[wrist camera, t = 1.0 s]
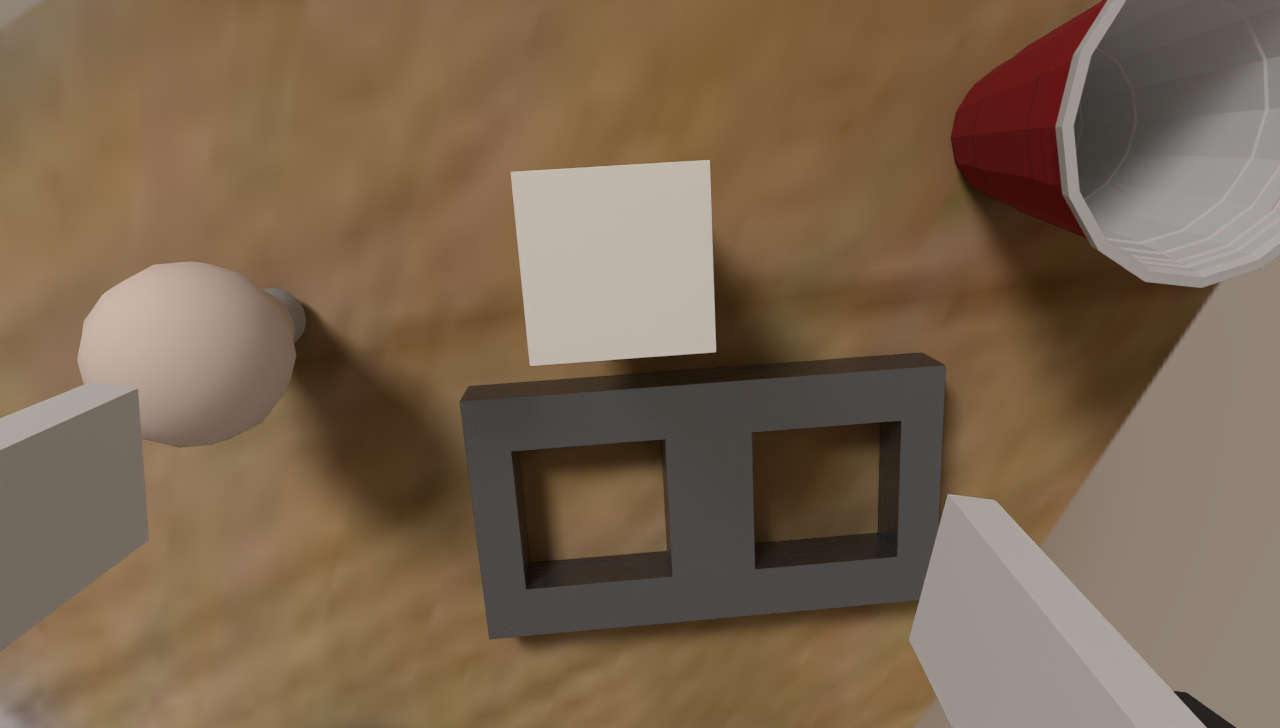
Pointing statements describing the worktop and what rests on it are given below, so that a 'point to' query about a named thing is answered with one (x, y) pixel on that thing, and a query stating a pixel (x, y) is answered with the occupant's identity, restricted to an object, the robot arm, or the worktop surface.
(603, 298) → the square post
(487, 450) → the rail plate
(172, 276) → the light bulb
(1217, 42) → the plastic cup
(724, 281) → the worktop surface
